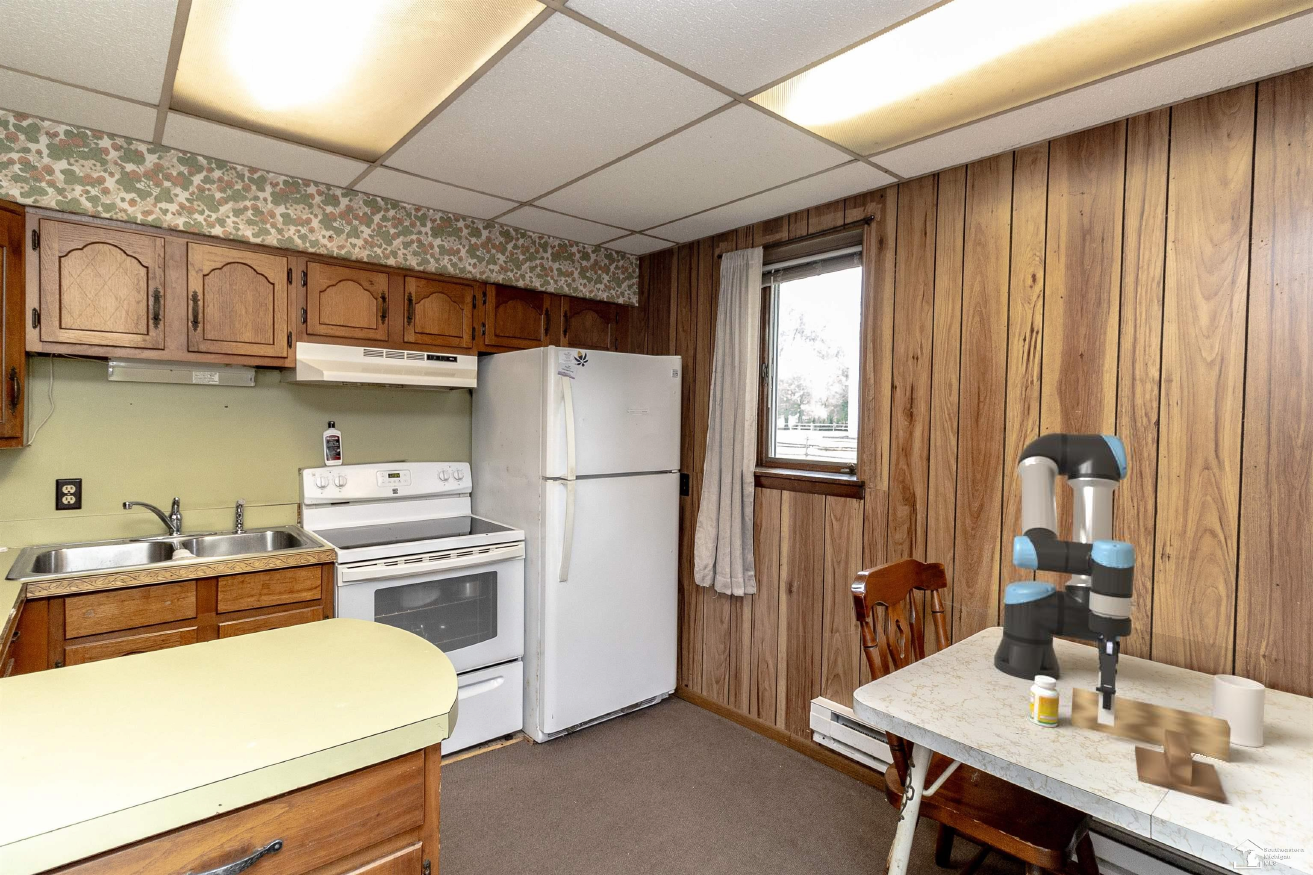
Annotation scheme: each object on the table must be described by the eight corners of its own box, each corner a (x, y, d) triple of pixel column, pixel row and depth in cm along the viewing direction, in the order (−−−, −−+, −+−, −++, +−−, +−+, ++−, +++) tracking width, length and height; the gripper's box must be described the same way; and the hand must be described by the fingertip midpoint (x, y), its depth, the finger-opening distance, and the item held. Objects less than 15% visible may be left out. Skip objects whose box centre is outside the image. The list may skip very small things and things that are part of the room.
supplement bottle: (1023, 719, 144) (1025, 675, 144) (1039, 715, 146) (1041, 672, 146) (1047, 729, 139) (1049, 684, 139) (1063, 725, 141) (1065, 681, 141)
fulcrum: (1138, 780, 119) (1140, 747, 119) (1134, 750, 131) (1136, 720, 131) (1224, 803, 113) (1226, 769, 113) (1212, 770, 124) (1214, 738, 124)
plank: (1070, 725, 142) (1072, 693, 142) (1071, 718, 146) (1072, 687, 145) (1228, 764, 128) (1230, 728, 127) (1224, 754, 131) (1226, 720, 131)
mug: (1201, 719, 147) (1204, 666, 147) (1251, 729, 143) (1254, 674, 143) (1215, 740, 137) (1218, 683, 137) (1269, 751, 133) (1272, 693, 133)
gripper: (1134, 630, 128) (1129, 739, 128) (1129, 605, 148) (1124, 699, 148) (1088, 623, 132) (1083, 728, 132) (1089, 599, 152) (1085, 690, 153)
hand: (1105, 712), depth 140 cm, fingers open, 13 cm apart
